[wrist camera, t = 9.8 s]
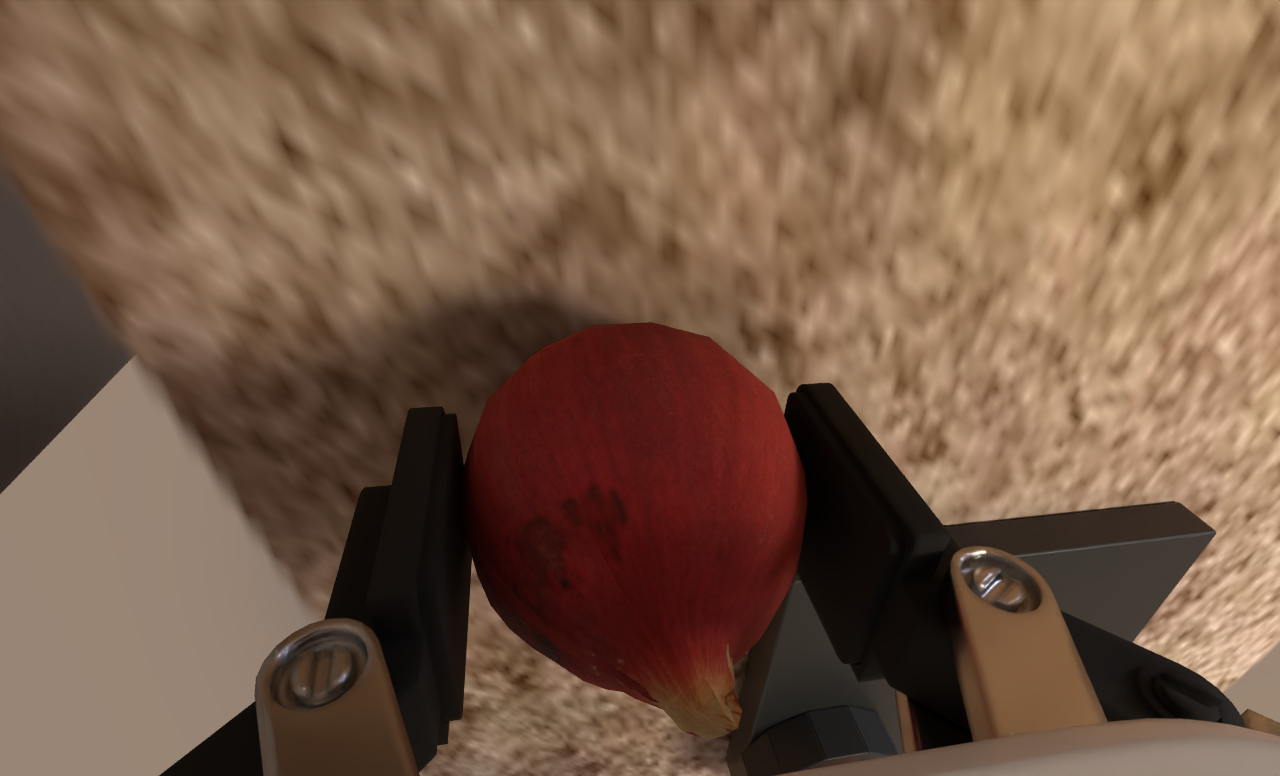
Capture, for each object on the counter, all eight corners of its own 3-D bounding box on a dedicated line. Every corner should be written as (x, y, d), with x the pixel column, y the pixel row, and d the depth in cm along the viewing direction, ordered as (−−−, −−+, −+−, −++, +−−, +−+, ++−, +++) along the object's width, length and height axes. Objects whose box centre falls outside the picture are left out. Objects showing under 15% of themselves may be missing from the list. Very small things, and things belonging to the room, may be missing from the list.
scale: (718, 761, 25) (741, 848, 22) (766, 544, 18) (807, 634, 16) (1034, 709, 27) (1086, 782, 25) (1179, 501, 21) (1270, 572, 18)
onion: (498, 493, 15) (492, 885, 9) (444, 274, 12) (370, 636, 6) (729, 456, 16) (883, 794, 9) (736, 240, 13) (978, 524, 6)
